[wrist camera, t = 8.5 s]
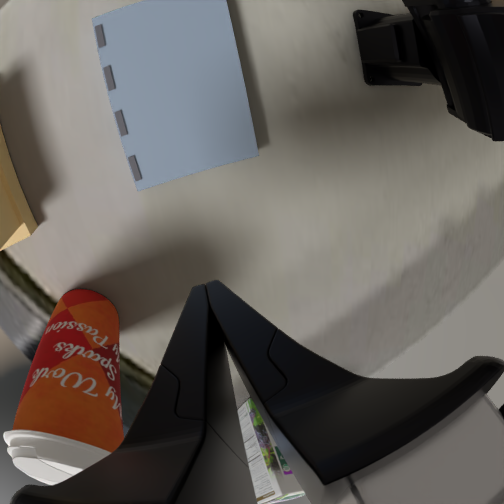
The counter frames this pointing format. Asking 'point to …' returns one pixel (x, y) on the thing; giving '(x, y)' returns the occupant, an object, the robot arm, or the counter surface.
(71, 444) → the coffee cup
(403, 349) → the counter surface
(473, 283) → the counter surface
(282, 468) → the syrup box
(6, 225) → the stub
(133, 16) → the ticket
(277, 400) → the robot arm
